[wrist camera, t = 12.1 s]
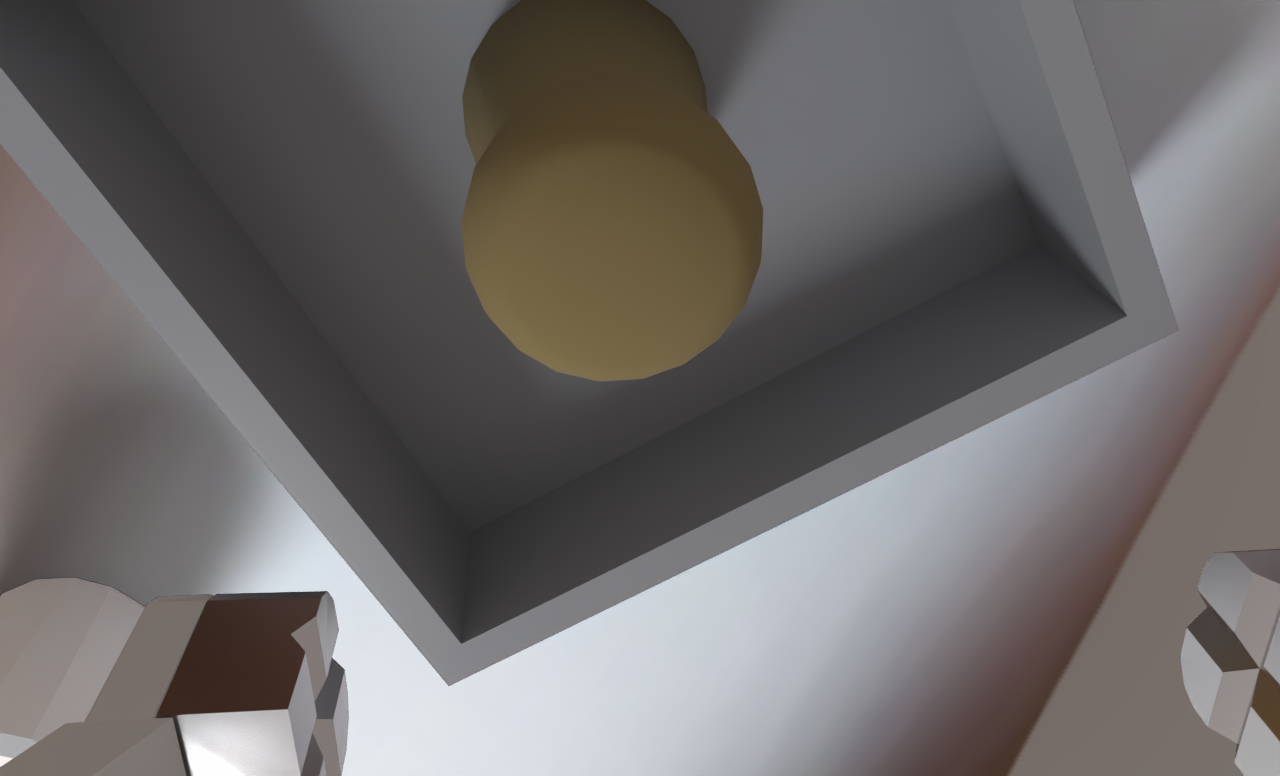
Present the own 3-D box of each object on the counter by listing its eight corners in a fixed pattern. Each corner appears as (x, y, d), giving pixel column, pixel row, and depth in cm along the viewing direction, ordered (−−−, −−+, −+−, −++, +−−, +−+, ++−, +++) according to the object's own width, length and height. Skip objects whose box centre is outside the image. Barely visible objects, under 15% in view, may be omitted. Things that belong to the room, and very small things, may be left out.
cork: (636, -67, 26) (706, -1, 16) (746, 157, 29) (865, 331, 19) (413, 62, 27) (352, 200, 17) (540, 268, 29) (551, 491, 20)
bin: (1067, 244, 32) (1178, 330, 26) (459, 551, 34) (448, 686, 29) (777, -565, 23) (856, -684, 17) (-9, -66, 26) (-149, -37, 20)
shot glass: (139, 538, 33) (51, 703, 27) (223, 709, 36) (162, 892, 30) (-87, 587, 33) (-228, 764, 27) (17, 754, 36) (-88, 947, 30)
